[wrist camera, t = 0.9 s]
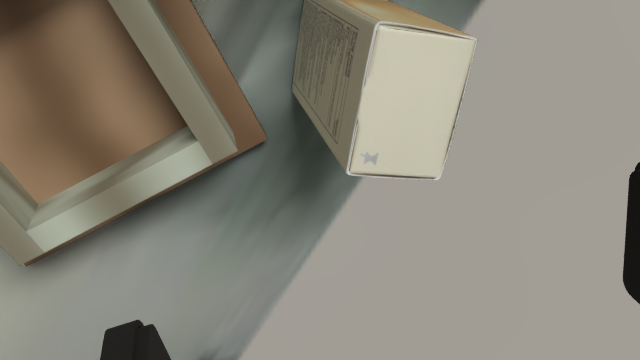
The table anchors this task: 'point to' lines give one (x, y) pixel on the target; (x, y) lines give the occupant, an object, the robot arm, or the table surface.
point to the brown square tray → (106, 114)
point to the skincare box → (381, 85)
